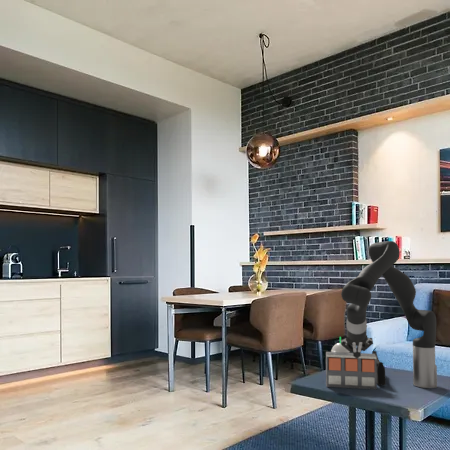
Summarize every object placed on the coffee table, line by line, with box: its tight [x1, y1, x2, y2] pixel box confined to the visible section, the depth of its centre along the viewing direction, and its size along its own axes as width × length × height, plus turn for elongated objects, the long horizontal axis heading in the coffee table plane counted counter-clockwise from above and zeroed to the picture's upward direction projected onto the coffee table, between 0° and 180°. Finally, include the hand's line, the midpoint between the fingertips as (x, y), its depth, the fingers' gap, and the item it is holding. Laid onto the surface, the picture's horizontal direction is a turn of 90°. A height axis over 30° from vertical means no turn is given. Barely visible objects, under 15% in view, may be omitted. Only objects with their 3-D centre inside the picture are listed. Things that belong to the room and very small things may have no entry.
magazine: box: [371, 350, 387, 386], centre depth 227 cm, size 17×3×30 cm
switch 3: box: [361, 359, 374, 372], centre depth 211 cm, size 5×5×5 cm
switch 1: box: [328, 357, 341, 371], centre depth 214 cm, size 5×5×5 cm
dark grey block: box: [325, 351, 378, 391], centre depth 214 cm, size 21×6×14 cm, turn 80°
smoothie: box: [330, 336, 351, 353], centre depth 223 cm, size 8×8×20 cm
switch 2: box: [345, 358, 358, 371], centre depth 213 cm, size 5×5×5 cm
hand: (356, 356), depth 199 cm, fingers closed
